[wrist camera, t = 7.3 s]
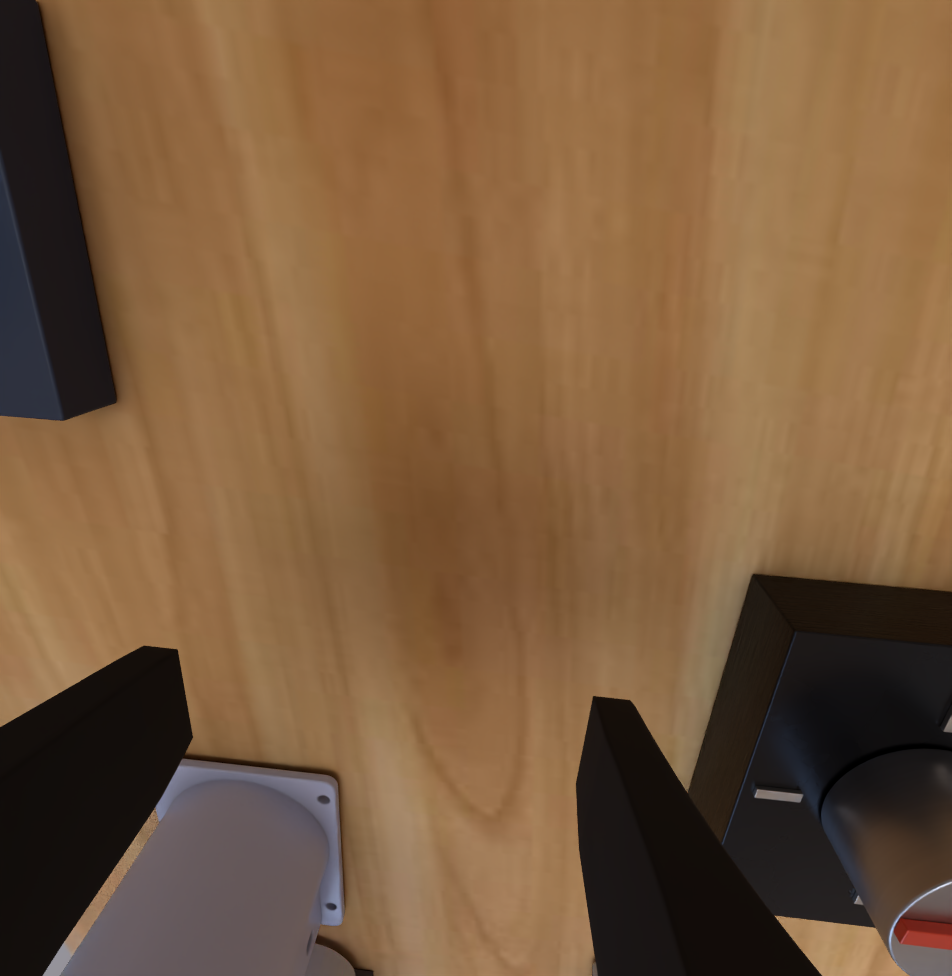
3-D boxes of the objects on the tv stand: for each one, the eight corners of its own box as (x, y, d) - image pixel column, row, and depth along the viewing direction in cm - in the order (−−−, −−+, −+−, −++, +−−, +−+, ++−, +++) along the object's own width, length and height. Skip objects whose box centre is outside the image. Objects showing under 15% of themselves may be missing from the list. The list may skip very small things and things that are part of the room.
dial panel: (932, 856, 22) (995, 948, 19) (677, 826, 22) (701, 912, 19) (1077, 603, 17) (1191, 672, 14) (752, 573, 18) (798, 634, 15)
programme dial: (1027, 756, 16) (1171, 898, 12) (958, 869, 18) (1066, 1019, 14) (848, 738, 16) (940, 871, 12) (800, 852, 18) (868, 994, 14)
